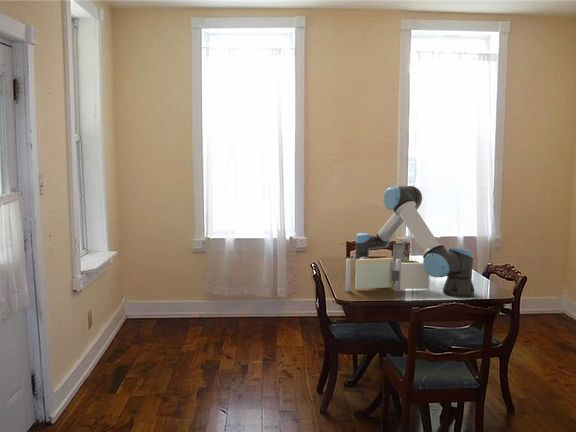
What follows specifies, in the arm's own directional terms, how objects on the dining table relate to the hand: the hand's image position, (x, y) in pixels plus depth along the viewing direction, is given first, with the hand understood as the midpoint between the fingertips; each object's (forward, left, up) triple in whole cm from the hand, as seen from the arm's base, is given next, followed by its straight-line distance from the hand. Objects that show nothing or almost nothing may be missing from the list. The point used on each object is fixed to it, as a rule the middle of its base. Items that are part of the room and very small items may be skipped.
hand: (377, 274), depth 292 cm
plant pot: (+23, -25, -7) cm, 35 cm away
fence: (-4, -4, -7) cm, 9 cm away
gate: (-2, +3, -6) cm, 7 cm away
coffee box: (+43, -26, -7) cm, 51 cm away
